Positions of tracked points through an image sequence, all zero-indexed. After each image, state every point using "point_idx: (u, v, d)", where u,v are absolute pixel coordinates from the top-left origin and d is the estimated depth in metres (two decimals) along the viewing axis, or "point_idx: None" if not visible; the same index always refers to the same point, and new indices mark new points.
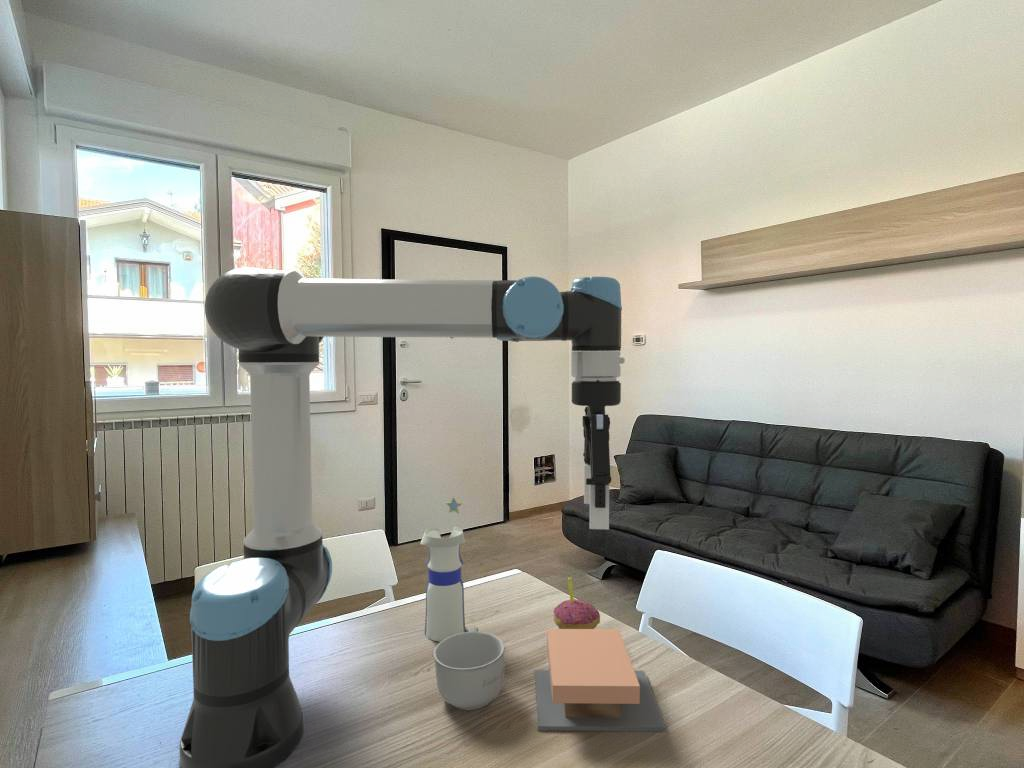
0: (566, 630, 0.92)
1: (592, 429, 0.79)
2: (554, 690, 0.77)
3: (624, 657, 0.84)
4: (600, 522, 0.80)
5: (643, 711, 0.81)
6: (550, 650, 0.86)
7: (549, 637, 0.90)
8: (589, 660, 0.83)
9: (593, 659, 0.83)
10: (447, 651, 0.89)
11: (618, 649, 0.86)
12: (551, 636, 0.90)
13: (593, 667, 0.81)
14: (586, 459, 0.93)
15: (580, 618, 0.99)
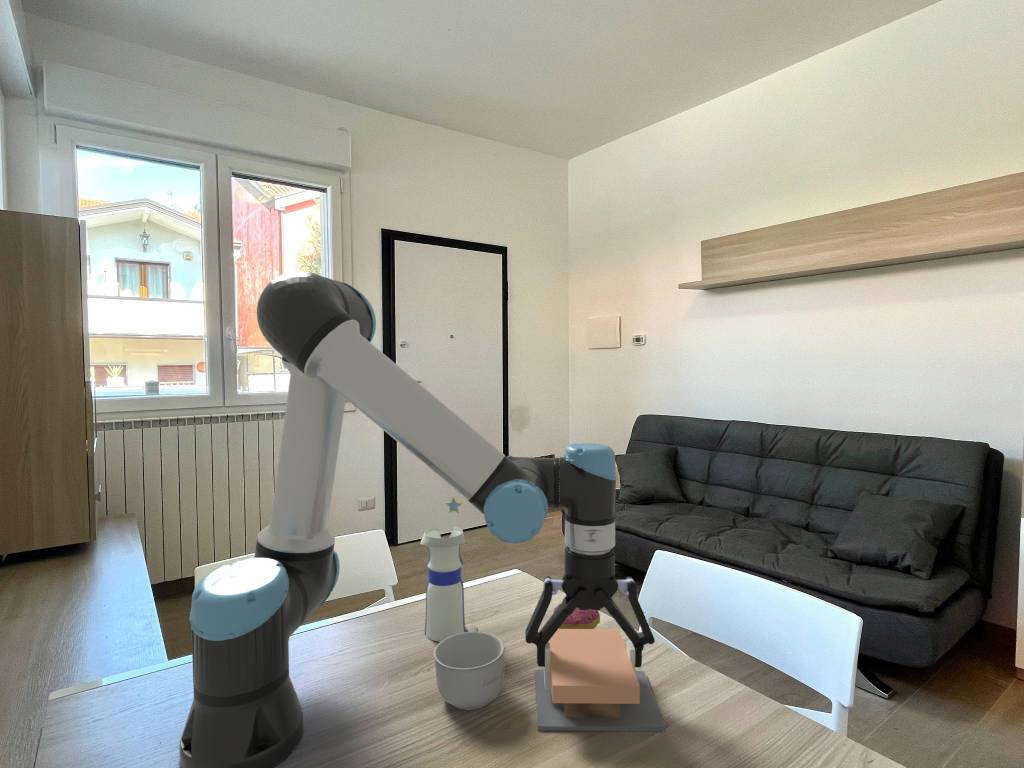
0: (566, 630, 0.92)
1: (543, 589, 0.85)
2: (554, 690, 0.77)
3: (624, 657, 0.84)
4: (544, 679, 0.85)
5: (643, 711, 0.81)
6: (550, 650, 0.86)
7: None
8: (589, 660, 0.83)
9: (593, 659, 0.83)
10: (447, 651, 0.89)
11: (618, 649, 0.86)
12: None
13: (593, 667, 0.81)
14: None
15: (580, 618, 0.99)
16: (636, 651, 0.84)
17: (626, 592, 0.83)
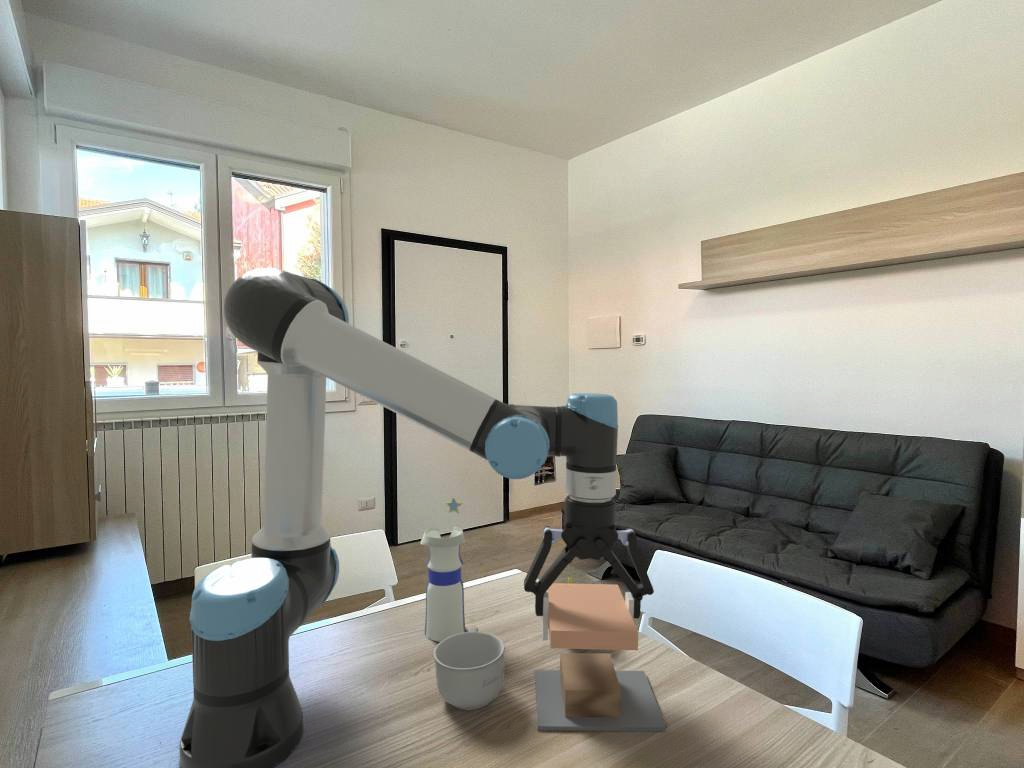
0: (564, 584, 0.92)
1: None
2: (552, 635, 0.76)
3: (623, 607, 0.84)
4: (542, 629, 0.84)
5: (643, 711, 0.81)
6: None
7: None
8: (587, 610, 0.83)
9: (592, 609, 0.83)
10: (447, 651, 0.89)
11: (617, 601, 0.86)
12: (549, 589, 0.90)
13: (592, 616, 0.81)
14: None
15: None
16: (635, 602, 0.83)
17: (626, 542, 0.83)
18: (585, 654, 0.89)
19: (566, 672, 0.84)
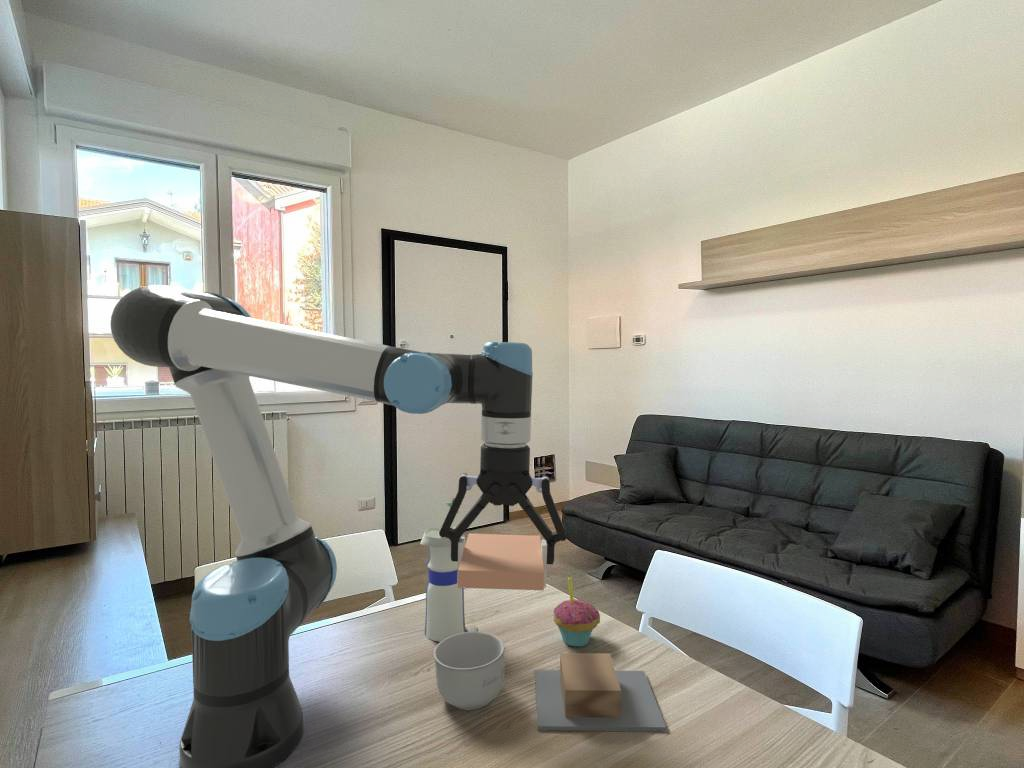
0: (487, 535, 0.93)
1: None
2: (459, 575, 0.78)
3: (537, 553, 0.85)
4: None
5: (643, 711, 0.81)
6: (466, 547, 0.87)
7: (468, 539, 0.91)
8: (501, 555, 0.84)
9: (506, 554, 0.84)
10: (447, 651, 0.89)
11: (533, 548, 0.87)
12: (470, 538, 0.91)
13: (503, 559, 0.82)
14: None
15: (580, 618, 0.99)
16: (549, 548, 0.85)
17: (539, 488, 0.84)
18: (585, 654, 0.89)
19: (566, 672, 0.84)
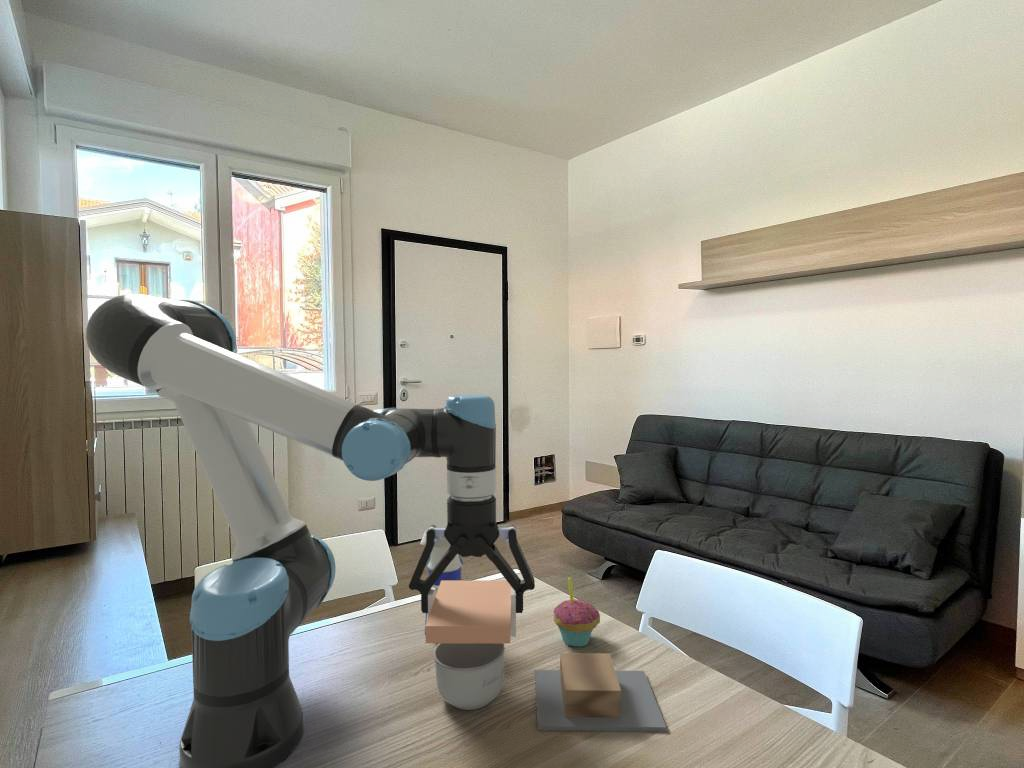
0: (459, 581, 0.94)
1: None
2: (427, 630, 0.79)
3: (506, 602, 0.86)
4: None
5: (643, 711, 0.81)
6: (436, 597, 0.88)
7: (440, 587, 0.92)
8: (470, 606, 0.85)
9: (475, 605, 0.85)
10: (447, 651, 0.89)
11: (503, 597, 0.88)
12: (442, 587, 0.92)
13: (472, 611, 0.83)
14: None
15: (580, 618, 0.99)
16: (517, 597, 0.86)
17: (506, 539, 0.85)
18: (585, 654, 0.89)
19: (566, 672, 0.84)
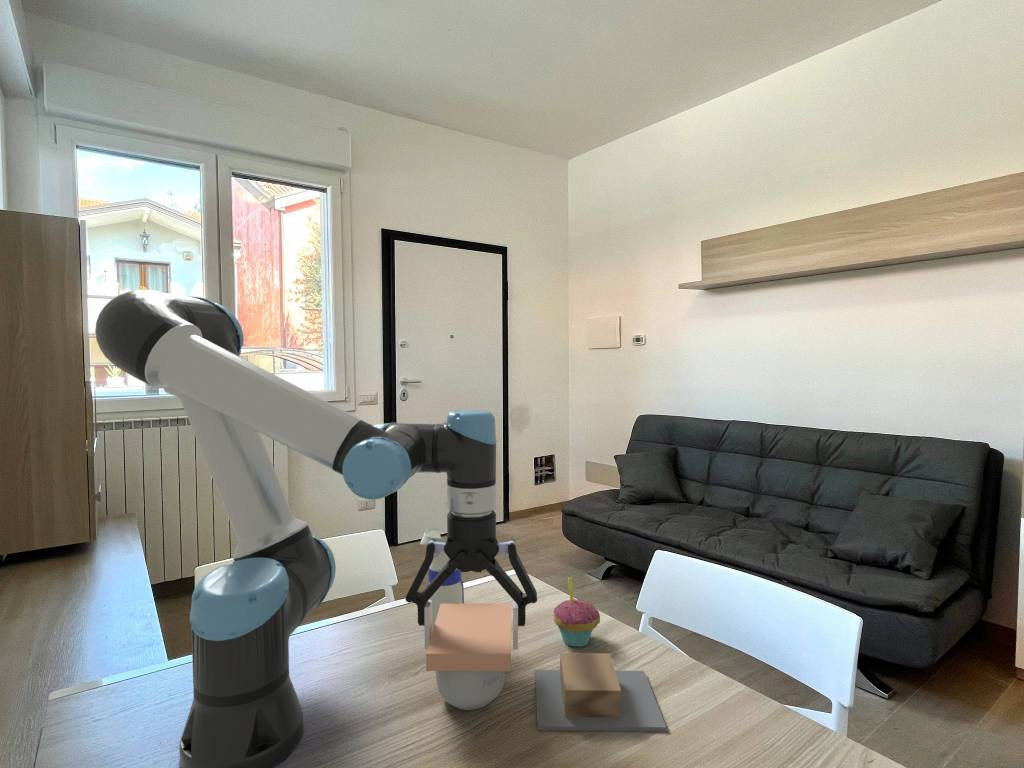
0: (459, 605, 0.94)
1: None
2: (427, 658, 0.79)
3: (506, 628, 0.86)
4: None
5: (643, 711, 0.81)
6: (436, 622, 0.88)
7: (440, 611, 0.92)
8: (470, 631, 0.85)
9: (475, 630, 0.85)
10: None
11: (503, 621, 0.88)
12: (442, 610, 0.92)
13: (472, 637, 0.83)
14: None
15: (580, 618, 0.99)
16: (520, 610, 0.86)
17: (506, 553, 0.85)
18: (585, 654, 0.89)
19: (566, 672, 0.84)
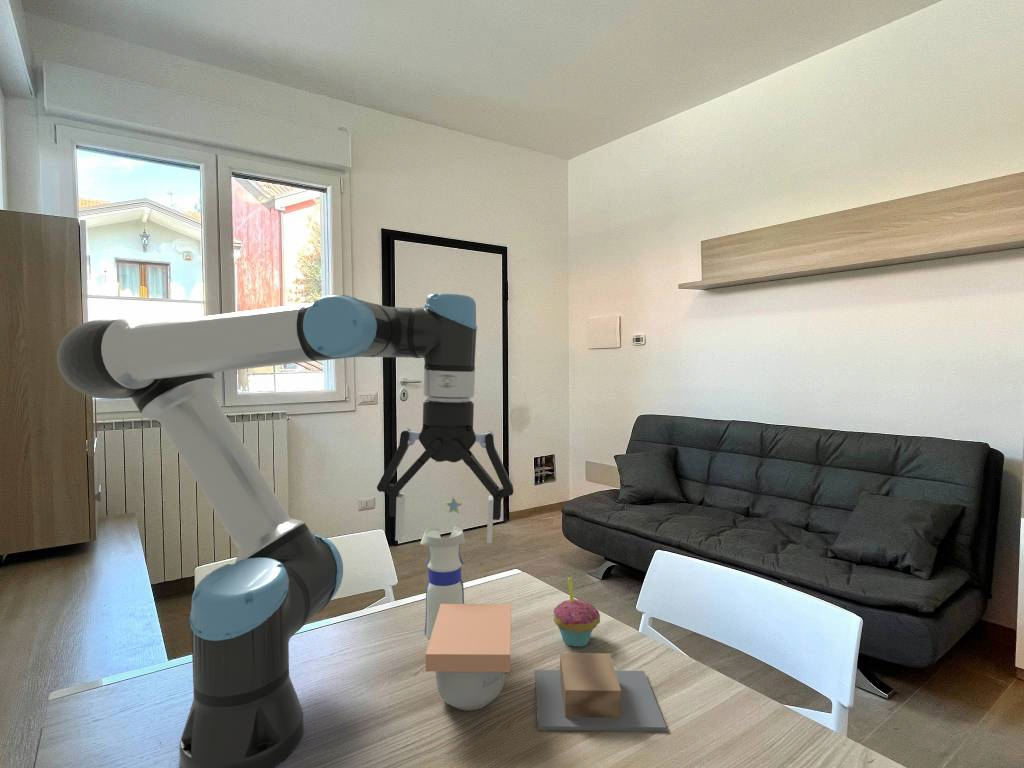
0: (459, 605, 0.94)
1: None
2: (427, 659, 0.79)
3: (506, 628, 0.86)
4: None
5: (643, 711, 0.81)
6: (436, 623, 0.88)
7: (440, 611, 0.92)
8: (470, 632, 0.85)
9: (475, 631, 0.85)
10: None
11: (503, 622, 0.88)
12: (442, 611, 0.92)
13: (472, 638, 0.83)
14: None
15: (580, 618, 0.99)
16: (495, 503, 0.83)
17: (483, 443, 0.82)
18: (585, 654, 0.89)
19: (566, 672, 0.84)
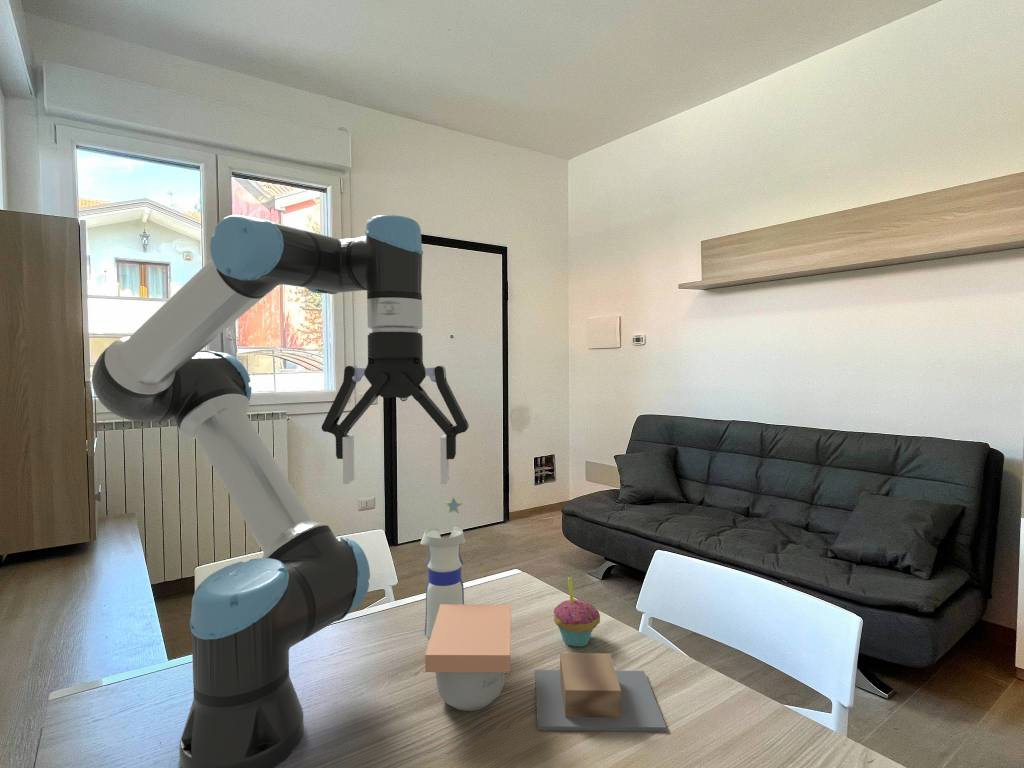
0: (458, 605, 0.94)
1: None
2: (426, 659, 0.78)
3: (506, 629, 0.86)
4: None
5: (643, 711, 0.81)
6: (435, 623, 0.88)
7: (439, 612, 0.92)
8: (469, 632, 0.85)
9: (474, 631, 0.85)
10: None
11: (502, 622, 0.88)
12: (441, 611, 0.92)
13: (471, 639, 0.83)
14: None
15: (580, 618, 0.99)
16: (449, 441, 0.78)
17: (433, 377, 0.77)
18: (585, 654, 0.89)
19: (566, 672, 0.84)
